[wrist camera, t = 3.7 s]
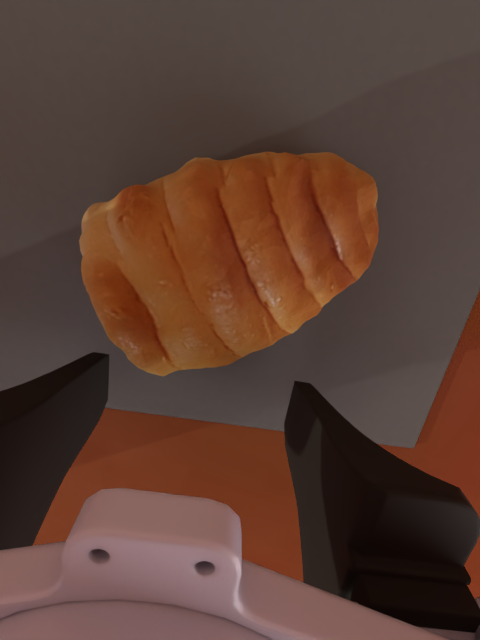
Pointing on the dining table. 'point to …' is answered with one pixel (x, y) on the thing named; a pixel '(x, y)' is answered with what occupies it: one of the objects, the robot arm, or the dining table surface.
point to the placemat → (233, 142)
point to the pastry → (226, 255)
